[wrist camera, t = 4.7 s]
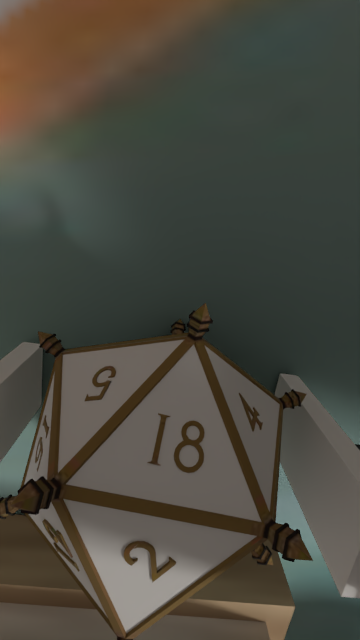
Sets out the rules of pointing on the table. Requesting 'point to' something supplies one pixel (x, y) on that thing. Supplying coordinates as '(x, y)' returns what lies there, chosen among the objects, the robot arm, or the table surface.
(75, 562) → the game die
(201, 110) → the table surface
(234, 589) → the tower base
